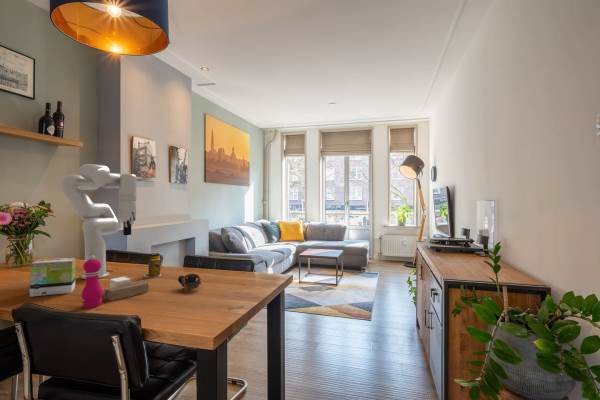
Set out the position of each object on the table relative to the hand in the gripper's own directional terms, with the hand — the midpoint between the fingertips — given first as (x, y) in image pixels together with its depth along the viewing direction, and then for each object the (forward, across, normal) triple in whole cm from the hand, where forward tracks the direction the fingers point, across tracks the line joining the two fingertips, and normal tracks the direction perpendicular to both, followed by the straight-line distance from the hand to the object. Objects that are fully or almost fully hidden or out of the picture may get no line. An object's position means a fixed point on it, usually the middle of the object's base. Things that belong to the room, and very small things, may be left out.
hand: (127, 234), depth 158 cm
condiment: (+24, -4, +16) cm, 29 cm away
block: (+24, +14, -9) cm, 29 cm away
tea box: (+25, -9, -28) cm, 38 cm away
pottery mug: (+24, +34, +13) cm, 44 cm away
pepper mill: (+24, +24, -24) cm, 41 cm away
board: (+24, +21, -9) cm, 33 cm away
